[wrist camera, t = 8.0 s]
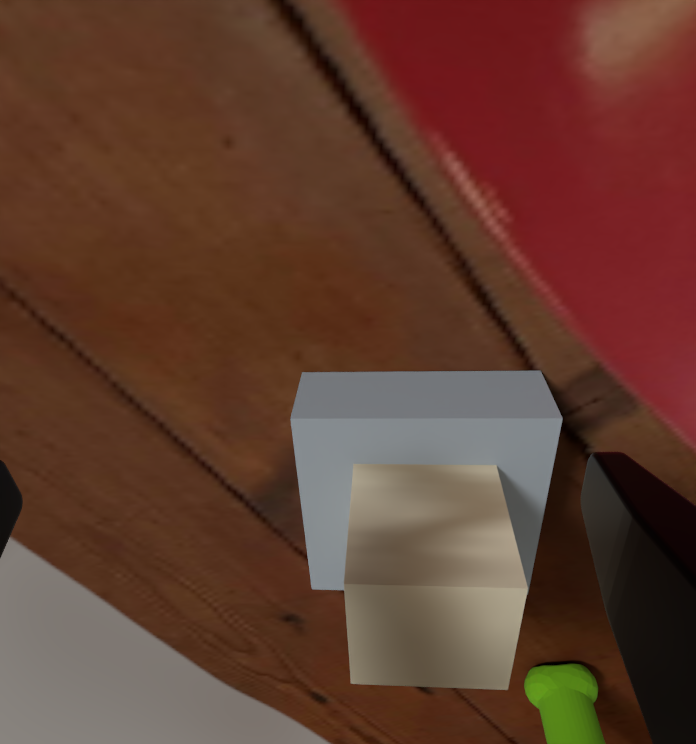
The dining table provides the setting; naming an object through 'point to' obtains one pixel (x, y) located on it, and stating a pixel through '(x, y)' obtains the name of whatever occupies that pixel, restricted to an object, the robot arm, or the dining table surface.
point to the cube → (431, 577)
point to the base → (419, 445)
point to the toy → (565, 703)
